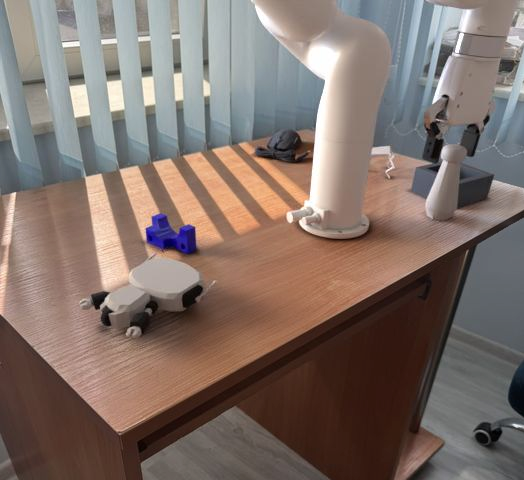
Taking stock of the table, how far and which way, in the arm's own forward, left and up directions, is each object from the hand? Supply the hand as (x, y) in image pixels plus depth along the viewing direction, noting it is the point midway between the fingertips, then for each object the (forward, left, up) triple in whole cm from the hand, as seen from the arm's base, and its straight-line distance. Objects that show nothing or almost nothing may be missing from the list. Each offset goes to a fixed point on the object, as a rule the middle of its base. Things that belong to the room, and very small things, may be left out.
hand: (448, 157), depth 92 cm
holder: (+12, +6, -11) cm, 17 cm away
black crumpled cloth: (0, +46, -11) cm, 47 cm away
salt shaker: (+1, 0, -11) cm, 11 cm away
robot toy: (-59, -2, -11) cm, 60 cm away
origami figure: (+9, +24, -11) cm, 28 cm away
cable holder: (-48, +14, -11) cm, 51 cm away
